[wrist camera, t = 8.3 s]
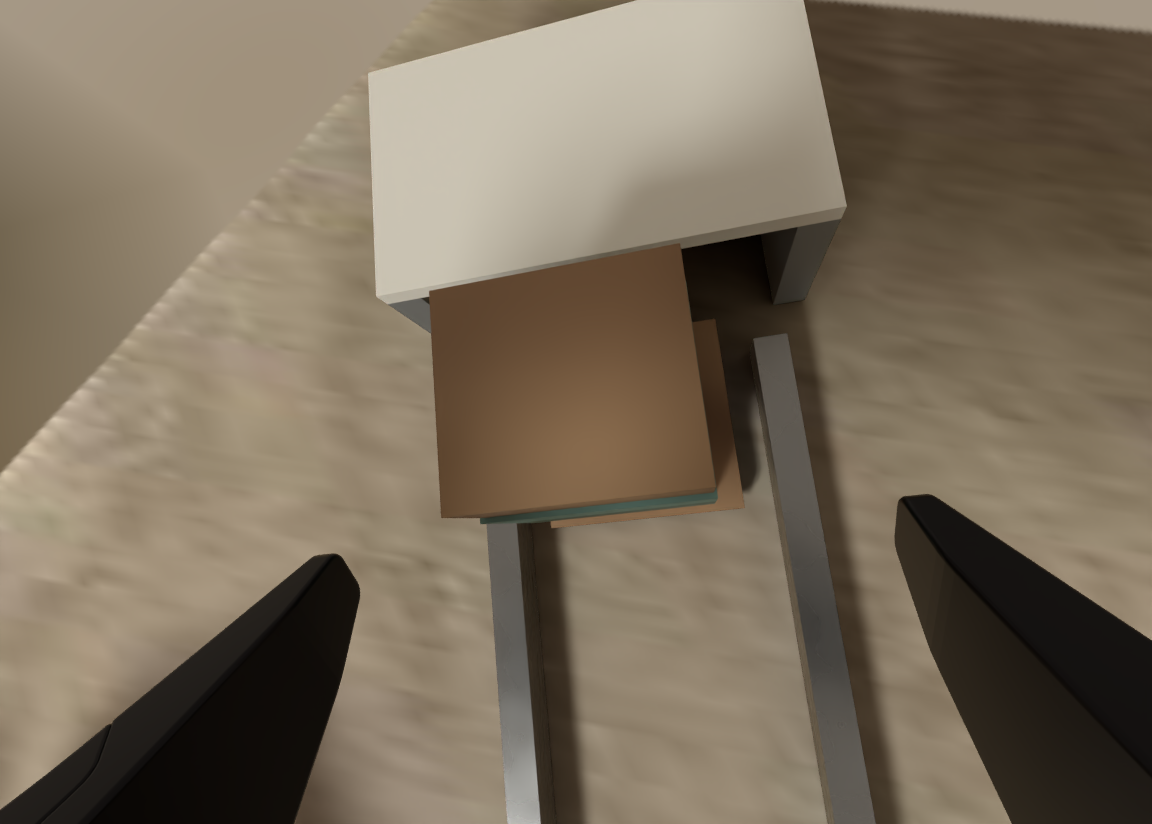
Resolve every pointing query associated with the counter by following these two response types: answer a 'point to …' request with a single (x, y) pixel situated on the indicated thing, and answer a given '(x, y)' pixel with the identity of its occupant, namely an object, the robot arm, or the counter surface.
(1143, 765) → the robot arm
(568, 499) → the teal-banded wooden block
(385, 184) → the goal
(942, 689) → the counter surface
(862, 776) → the rails
